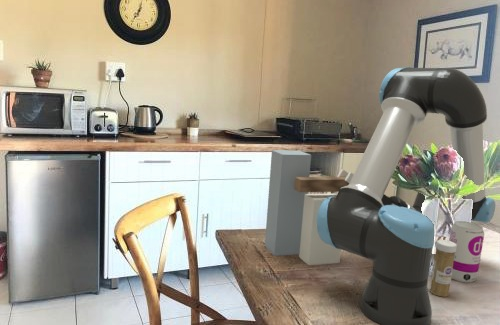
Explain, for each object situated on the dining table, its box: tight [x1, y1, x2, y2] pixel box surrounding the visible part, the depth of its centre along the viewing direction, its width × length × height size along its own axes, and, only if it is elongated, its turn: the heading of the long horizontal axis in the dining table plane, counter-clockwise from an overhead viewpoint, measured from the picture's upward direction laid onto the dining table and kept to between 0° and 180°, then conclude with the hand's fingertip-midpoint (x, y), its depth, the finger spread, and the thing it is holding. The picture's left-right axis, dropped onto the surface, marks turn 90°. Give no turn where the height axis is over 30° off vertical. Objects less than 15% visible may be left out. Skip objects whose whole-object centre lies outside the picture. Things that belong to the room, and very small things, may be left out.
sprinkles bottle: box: [429, 239, 457, 298], centre depth 106 cm, size 5×5×13 cm
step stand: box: [264, 149, 342, 266], centre depth 124 cm, size 17×16×30 cm
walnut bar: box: [294, 176, 349, 193], centre depth 120 cm, size 22×4×4 cm, turn 109°
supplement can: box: [448, 220, 485, 283], centre depth 116 cm, size 8×8×15 cm
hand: (344, 174), depth 121 cm, fingers closed on walnut bar, 3 cm apart
